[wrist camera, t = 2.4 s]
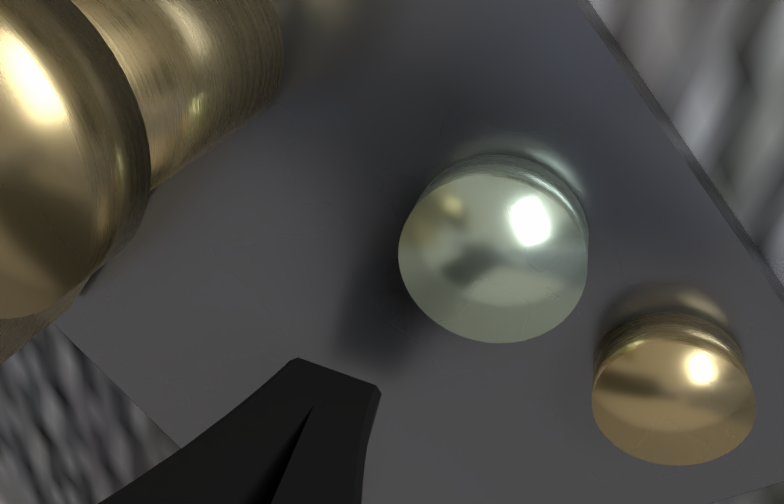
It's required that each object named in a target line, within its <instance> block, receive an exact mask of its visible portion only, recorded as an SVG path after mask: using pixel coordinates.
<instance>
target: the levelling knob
mask: <svg viewBox="0 0 784 504" xmlns="http://www.w3.org/2000/svg"><path fill="white" fill-rule="evenodd" d="M283 66H284V43H283V35H282V31H281V26H280V23H279V20H278V17H277V14H276V11H275V9H274V7H273V5H272V3H271V0H0V365H1V364H2V363H3V362H4V361H6V360H7V359H8V358H9V357H10V356H12V355H13V354H14V353H15V352H17V351H18V350H19V349H20V348H22V347H23V346H24V345H25V344H26V343H28V342H29V341H30V340H31V339H33V338H34V337H35V336H36V335H38V334H39V333H40V332H41V331H42V330H44V329H45V328H46V327H47V326H49V325H50V324H51V323H52V322H54V321H55V320H56V319H57V318H58V317H60V316H61V315H62V314H63V313H65V312H66V311H67V310H68V309H69V308H70V307H71V305H72V304H73V302H74V301H75V299H76V298H77V296H78V295H79V293H80V292H81V290H82V289H83V287H84V286H85V284H86V283H87V281H88V280H89V278H90V277H91V275H92V274H93V273H94V272H96V271H97V270H98V269H100V268H101V267H102V266H103V265H105V264H106V263H107V262H108V261H110V260H111V259H112V258H114V257H115V256H116V255H117V254H118V253H120V252H121V251H122V250H123V249H124V248H125V247H126V246H127V245H128V243H129V242H130V241H131V240H132V238H133V237H134V235H135V234H136V232H137V230H138V228H139V227H140V225H141V223H142V220H143V217H144V214H145V211H146V209H147V205H148V199H149V194H150V191H151V190H153V189H154V188H156V187H157V186H158V185H160V184H161V183H163V182H164V181H166V180H167V179H168V178H170V177H171V176H173V175H174V174H176V173H177V172H178V171H180V170H181V169H183V168H184V167H186V166H187V165H188V164H190V163H191V162H193V161H194V160H196V159H197V158H198V157H200V156H201V155H203V154H204V153H206V152H207V151H208V150H210V149H211V148H213V147H214V146H216V145H217V144H218V143H220V142H221V141H223V140H224V139H226V138H227V137H228V136H230V135H231V134H233V133H234V132H236V131H237V130H238V129H240V128H241V127H243V126H244V125H246V124H247V123H248V122H250V121H251V120H253V119H254V118H256V117H257V116H258V115H259V114H260V113H261V112H263V111H264V109H265V108H266V107H267V106H268V105H269V103H270V102H271V100H272V99H273V97H274V95H275V93H276V91H277V89H278V87H279V84H280V80H281V77H282V73H283Z"/></svg>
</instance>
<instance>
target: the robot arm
mask: <svg viewBox="0 0 784 504" xmlns="http://www.w3.org/2000/svg"><path fill="white" fill-rule="evenodd" d="M381 395H382V393H381V392H380V390H379V389H378V387H377V385H374V384H371V383H369V382H366V381H363V380H360V379H357V378H355V377H352V376H349V375H346V374H343V373H341V372H338V371H335V370H332V369H329V368H327V367H324V366H321V365H318V364H315V363H312V362H310V361H307V360H304V359H301V358H295V359H293V360H290V361H289V362H288V363H287V364H286V365H284V366H283V367H282V368H281V369H280V370H279V371H278V372H277V373H276V374H275V375H273V376H272V377H271V378H270V379H269V380H268V381H267V382H266V383H264V384H263V385H262V386H261V387H260V388H259V389H257V390H256V391H255V392H254V393H253V394H251V395H250V396H249V397H248V398H247V399H245V400H244V401H243V402H242V403H240V404H239V405H238V406H237V407H235V408H234V409H233V410H232V411H230V412H229V413H228V414H227V415H225V416H224V417H223V418H221V419H220V420H219V421H217V422H216V423H215V424H213V425H212V426H211V427H209V428H208V429H207V430H205V431H204V432H203V433H202V434H200V435H199V436H198V437H196V438H195V439H194V440H192V441H191V442H190V443H188V444H187V445H185V446H184V447H183V448H181V449H180V450H179V451H177V452H176V453H174V454H173V455H171V456H170V457H168V458H167V459H165V460H164V461H162V462H161V463H159V464H158V465H157V466H155V467H154V468H152V469H151V470H149V471H148V472H146V473H145V474H143V475H142V476H140V477H139V478H137V479H136V480H134V481H133V482H131V483H130V484H128V485H127V486H125V487H124V488H122V489H121V490H119V491H118V492H116V493H114V494H113V495H111V496H110V497H108V498H106V499H105V500H103V501H102V502H100V503H98V504H361V503H362V487H363V476H364V466H365V459H366V452H367V445H368V442H369V438H370V434H371V431H372V427H373V424H374V420H375V416H376V413H377V409H378V406H379V402H380V398H381Z"/></svg>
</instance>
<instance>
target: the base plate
mask: <svg viewBox="0 0 784 504" xmlns="http://www.w3.org/2000/svg"><path fill="white" fill-rule="evenodd" d="M271 3H272V5H273V7H274V9H275V11H276V14H277V17H278V20H279V23H280V26H281V31H282V35H283V43H284V66H283V73H282V77H281V80H280V84H279V87H278V89H277V91H276V93H275V95H274V97H273V99H272V100H271V102H270V103H269V105H268V106H267V107H266V108H265V109H264V111H263V112H261V113H260V114H259V115H258V116H257V117H256V118H254V119H253V120H251V121H250V122H248V123H247V124H246V125H244V126H243V127H241V128H240V129H238V130H237V131H236V132H234V133H233V134H231V135H230V136H228V137H227V138H226V139H224V140H223V141H221V142H220V143H218V144H217V145H216V146H214V147H213V148H211V149H210V150H208V151H207V152H206V153H204V154H203V155H201V156H200V157H198V158H197V159H196V160H194V161H193V162H191V163H190V164H188V165H187V166H186V167H184V168H183V169H181V170H180V171H178V172H177V173H176V174H174V175H173V176H171V177H170V178H168V179H167V180H166V181H164V182H163V183H161V184H160V185H158V186H157V187H156V188H154V189H153V190H151V191H150V194H149V199H148V205H147V209H146V211H145V214H144V217H143V220H142V223H141V225H140V227H139V228H138V230H137V232H136V234H135V235H134V237H133V238H132V240H131V241H130V242H129V243H128V245H127V246H126V247H125V248H124V249H123V250H122V251H121V252H120V253H118V254H117V255H116V256H115V257H114V258H112V259H111V260H110V261H108V262H107V263H106V264H105V265H103V266H102V267H101V268H100V269H98V270H97V271H96V272H94V273H93V274H92V275H91V277H90V278H89V280H88V281H87V283H86V284H85V286H84V287H83V289H82V290H81V292H80V293H79V295H78V296H77V298H76V299H75V301H74V302H73V304H72V305H71V307H70V308H69V309H68V310H67V311H66V312H65V313H63V314H62V315H61V316H60V317H58V318H57V319H56V320H55V321H54V322H53V323H54V324H55V325H56V326H57V327H58V328H59V329H60V330H61V331H62V332H63V333H64V334H65V335H66V336H67V337H68V338H69V339H70V340H71V341H72V342H73V343H74V344H75V345H76V346H77V347H78V348H79V349H80V350H81V351H82V352H83V353H84V354H85V355H86V356H87V357H88V358H89V359H90V360H91V361H92V362H93V363H94V364H95V365H96V366H97V367H98V368H99V369H100V370H101V371H103V372H104V373H105V374H106V375H107V376H108V377H109V378H110V379H111V380H112V381H113V382H114V383H115V384H116V385H117V386H118V387H119V388H120V389H121V390H122V391H123V392H124V393H125V394H126V395H127V396H128V397H129V398H130V399H131V400H132V401H133V402H134V403H135V404H136V405H137V406H138V407H139V408H140V409H141V410H142V411H143V412H144V413H145V414H146V415H147V416H148V417H149V418H150V419H151V420H152V421H154V422H155V423H156V424H157V425H158V426H159V427H160V428H161V429H162V430H163V431H164V432H165V433H166V434H167V435H168V436H169V437H170V438H171V439H172V440H173V441H174V442H175V443H176V444H177V445H178V446H179V447H180V448H183V447H184V446H185V445H187V444H188V443H190V442H191V441H192V440H194V439H195V438H196V437H198V436H199V435H200V434H202V433H203V432H204V431H205V430H207V429H208V428H209V427H211V426H212V425H213V424H215V423H216V422H217V421H219V420H220V419H221V418H223V417H224V416H225V415H227V414H228V413H229V412H230V411H232V410H233V409H234V408H235V407H237V406H238V405H239V404H240V403H242V402H243V401H244V400H245V399H247V398H248V397H249V396H250V395H251V394H253V393H254V392H255V391H256V390H257V389H259V388H260V387H261V386H262V385H263V384H264V383H266V382H267V381H268V380H269V379H270V378H271V377H272V376H273V375H275V374H276V373H277V372H278V371H279V370H280V369H281V368H282V367H283V366H284V365H286V364H287V363H288V362H289V361H290V360H293V359H295V358H301V359H304V360H307V361H310V362H312V363H315V364H318V365H321V366H324V367H327V368H329V369H332V370H335V371H338V372H341V373H343V374H346V375H349V376H352V377H355V378H357V379H360V380H363V381H366V382H369V383H371V384H374V385H377V387H378V389H379V390H380V392H381V393H382V395H381V398H380V402H379V406H378V409H377V413H376V416H375V420H374V424H373V427H372V431H371V434H370V438H369V442H368V445H367V452H366V459H365V466H364V476H363V487H362V503H361V504H710V503H713V502H716V501H720V500H723V499H726V498H730V497H733V496H737V495H740V494H743V493H747V492H750V491H753V490H757V489H760V488H763V487H767V486H770V485H773V484H777V483H780V482H783V481H784V287H783V285H782V284H781V283H780V281H779V280H778V278H777V277H776V275H775V274H774V272H773V271H772V269H771V268H770V266H769V265H768V263H767V262H766V261H765V259H764V258H763V256H762V255H761V253H760V252H759V250H758V249H757V247H756V246H755V244H754V243H753V241H752V240H751V239H750V237H749V236H748V234H747V233H746V231H745V230H744V228H743V227H742V225H741V224H740V222H739V221H738V219H737V218H736V216H735V215H734V214H733V212H732V211H731V209H730V208H729V206H728V205H727V203H726V202H725V200H724V199H723V197H722V196H721V194H720V193H719V192H718V190H717V189H716V187H715V186H714V184H713V183H712V181H711V180H710V178H709V177H708V175H707V174H706V172H705V171H704V170H703V168H702V167H701V165H700V164H699V162H698V161H697V159H696V158H695V156H694V155H693V153H692V152H691V150H690V149H689V147H688V146H687V145H686V143H685V142H684V140H683V139H682V137H681V136H680V134H679V133H678V131H677V130H676V128H675V127H674V125H673V124H672V123H671V121H670V120H669V118H668V117H667V115H666V114H665V112H664V111H663V109H662V108H661V106H660V105H659V103H658V102H657V101H656V99H655V98H654V96H653V95H652V93H651V92H650V90H649V89H648V87H647V86H646V84H645V83H644V81H643V80H642V79H641V77H640V76H639V74H638V73H637V71H636V70H635V68H634V67H633V65H632V64H631V62H630V61H629V59H628V58H627V56H626V55H625V54H624V52H623V51H622V49H621V48H620V46H619V45H618V43H617V42H616V40H615V39H614V37H613V36H612V34H611V33H610V32H609V30H608V29H607V27H606V26H605V24H604V23H603V21H602V20H601V18H600V17H599V15H598V14H597V12H596V11H595V10H594V8H593V7H592V5H591V4H590V2H589V1H588V0H271Z"/></svg>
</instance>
